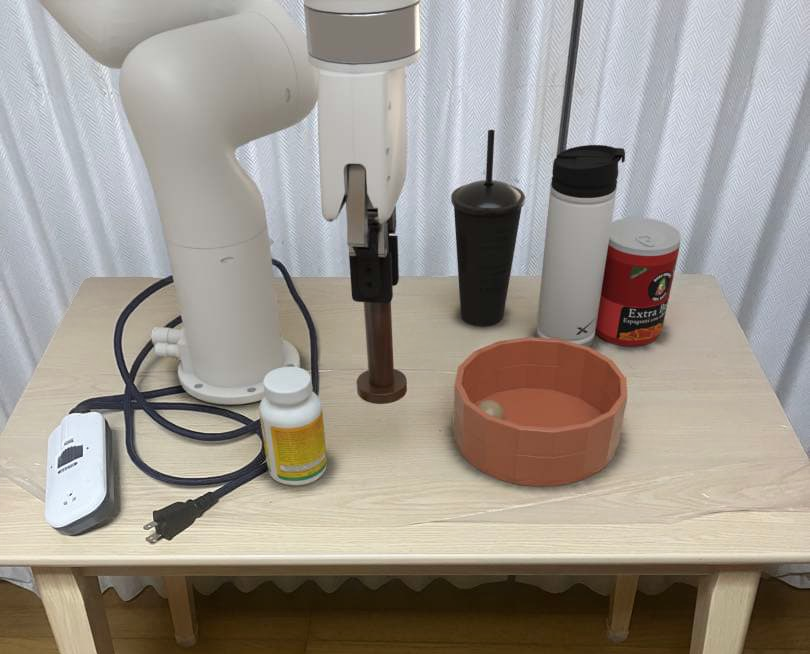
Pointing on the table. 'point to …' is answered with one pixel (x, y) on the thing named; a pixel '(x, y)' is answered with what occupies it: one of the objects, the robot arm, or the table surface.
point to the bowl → (539, 410)
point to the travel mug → (577, 241)
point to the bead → (492, 409)
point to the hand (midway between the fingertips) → (375, 290)
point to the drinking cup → (485, 243)
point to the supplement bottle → (292, 427)
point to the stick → (380, 355)
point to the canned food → (637, 280)
